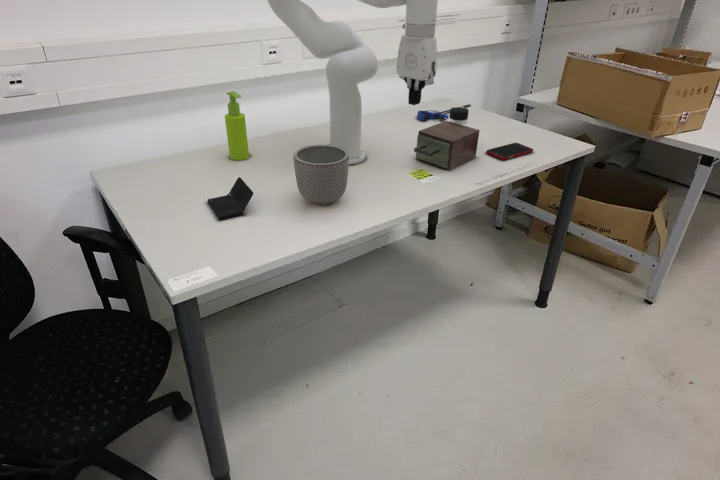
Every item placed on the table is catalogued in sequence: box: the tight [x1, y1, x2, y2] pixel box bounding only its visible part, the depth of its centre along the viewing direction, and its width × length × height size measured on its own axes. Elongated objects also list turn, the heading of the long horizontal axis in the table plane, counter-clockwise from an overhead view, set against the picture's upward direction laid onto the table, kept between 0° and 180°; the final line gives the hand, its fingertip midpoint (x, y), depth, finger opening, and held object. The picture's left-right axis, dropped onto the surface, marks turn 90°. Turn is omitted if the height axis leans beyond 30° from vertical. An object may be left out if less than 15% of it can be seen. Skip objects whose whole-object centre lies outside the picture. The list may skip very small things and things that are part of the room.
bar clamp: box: [416, 104, 472, 122], centre depth 195 cm, size 32×2×10 cm
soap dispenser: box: [224, 91, 250, 161], centre depth 148 cm, size 6×7×20 cm
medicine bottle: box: [445, 106, 471, 127], centre depth 164 cm, size 7×7×12 cm
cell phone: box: [485, 142, 534, 161], centre depth 160 cm, size 8×15×1 cm, turn 123°
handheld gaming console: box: [207, 176, 255, 221], centre depth 123 cm, size 12×7×10 cm
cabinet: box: [415, 120, 481, 171], centre depth 153 cm, size 15×13×9 cm
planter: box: [293, 143, 350, 207], centre depth 125 cm, size 14×14×13 cm
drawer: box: [413, 134, 451, 169], centre depth 150 cm, size 18×11×7 cm, turn 137°
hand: (414, 103), depth 132 cm, fingers closed
